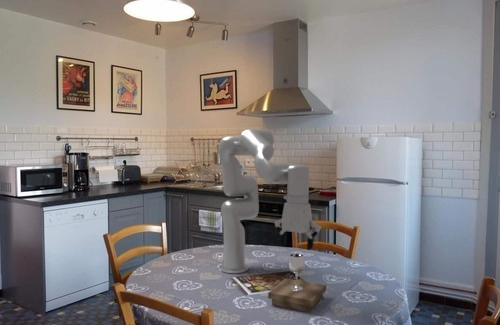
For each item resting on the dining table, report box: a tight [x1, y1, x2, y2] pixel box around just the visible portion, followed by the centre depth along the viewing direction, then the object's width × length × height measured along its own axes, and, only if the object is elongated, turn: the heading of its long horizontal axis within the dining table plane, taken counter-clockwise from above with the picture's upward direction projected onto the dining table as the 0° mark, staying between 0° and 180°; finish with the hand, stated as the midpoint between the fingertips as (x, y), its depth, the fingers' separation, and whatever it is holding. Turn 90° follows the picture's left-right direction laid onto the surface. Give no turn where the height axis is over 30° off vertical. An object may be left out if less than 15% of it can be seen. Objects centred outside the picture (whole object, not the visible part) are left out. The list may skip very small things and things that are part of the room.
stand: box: [267, 278, 327, 313], centre depth 140 cm, size 16×16×4 cm
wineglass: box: [288, 253, 306, 291], centre depth 139 cm, size 6×6×12 cm
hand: (296, 247), depth 139 cm, fingers open, 9 cm apart
